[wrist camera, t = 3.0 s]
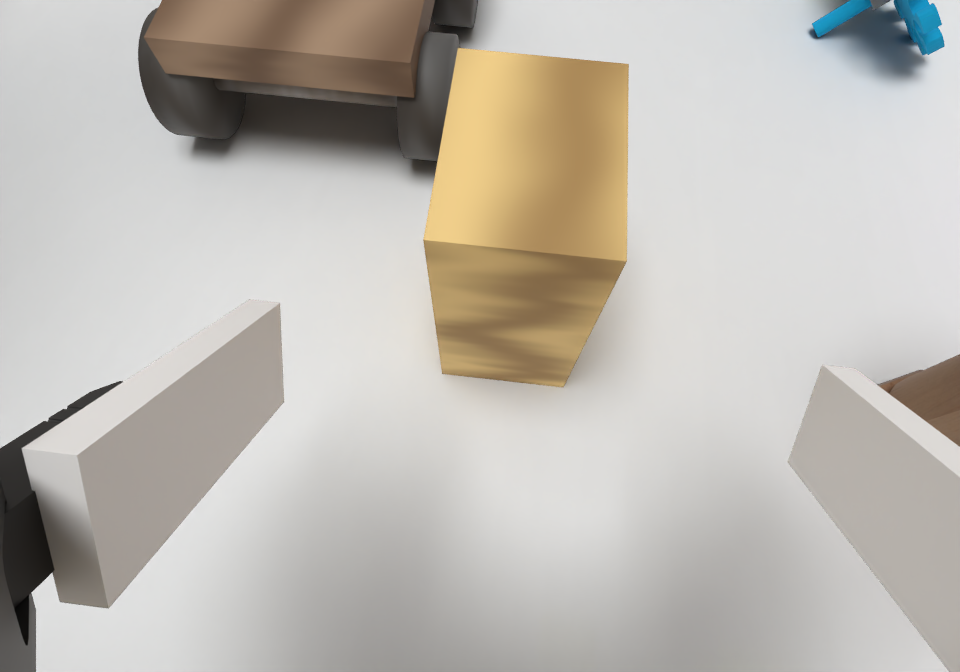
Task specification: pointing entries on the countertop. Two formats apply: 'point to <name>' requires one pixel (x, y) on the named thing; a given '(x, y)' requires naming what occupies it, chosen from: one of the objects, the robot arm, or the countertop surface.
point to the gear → (908, 5)
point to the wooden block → (932, 395)
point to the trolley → (302, 60)
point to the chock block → (526, 212)
